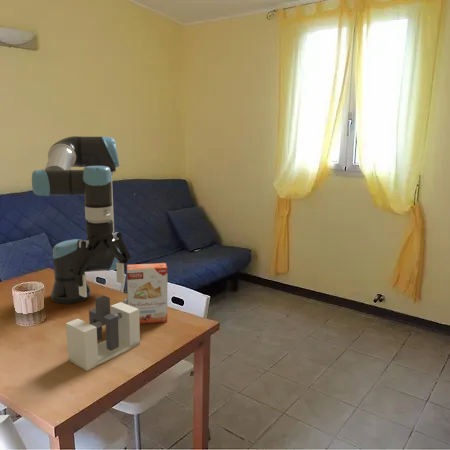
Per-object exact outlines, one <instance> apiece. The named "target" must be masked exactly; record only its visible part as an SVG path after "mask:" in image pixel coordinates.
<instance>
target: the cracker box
mask: <svg viewBox="0 0 450 450" xmlns="http://www.w3.org/2000/svg"><path fill="white" fill-rule="evenodd" d="M126 277H127V279H126V281H127V282H126V283H127V284H126V285H127V286H126V287H127V290H126V291H127V298H128V305H130V306H132V307H135V308H137V309H139V324H140V325H143V324H154V323H167V322H168V266H167V262H166V263H165V262H161V263H139V264H137V263H136V264H126Z"/></svg>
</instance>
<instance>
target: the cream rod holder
mask: <svg viewBox="0 0 450 450" xmlns="http://www.w3.org/2000/svg"><path fill="white" fill-rule="evenodd" d="M110 313H111V314H113V315H116V316H118V334H119V347H118V348H116V349H114V350H112V351H110V350H108V349H107V344H106V339H105V340H102V341H101V342H99V343H98V341H97V328H99V327H101V326H102V327H103V326H106V324H104V323H102V322H100V321H98V322H95V323H93V324H90V322H86V321H85V320H82V319H80V318H75V319H73V320H70V321H68V322H66V323H65V329H66V330H65V331H66V343H67V360H68V361H69V362H71V363H72V364H74V365H76V366H77V367H79V368H81V369H82V370H84V371H87V372H88V371H89V370H92V369H93V368H96V367H98V366H99V365H101V364H104V363H105V362H107V361H109V360H111V359H113V358H115V357H117V356H119V355H121V354H123V353H125V352H127V351H128V350H130V349H132V348H135V347H136V346H139V345H140V344H141V337H140V336H141V334H140V333H141V332H140V331H141V330H140V328H141V327H140V326H141V324H139V309H137V308H135V307H132V306H130V305H127V304H124V303H123V301H120V302H118V303H115V304H112V305H110Z"/></svg>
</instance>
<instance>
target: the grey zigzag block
mask: <svg viewBox="0 0 450 450" xmlns="http://www.w3.org/2000/svg"><path fill="white" fill-rule="evenodd" d="M110 299H111V298H110V297H108V296H107V295H100V296H98V297H97V296H96V297H95V299H94V301H95V303H94V305H95V307H94V308H92V309H90V310H88V314H89V315H88V320H89V322H88V323H89V324H93V323H95V322H98V321H100V322H102V323H104V324H106V325H105V340H106V344H107V349H108V350H110V351H112V350H114V349H116V348H118V347H119V334H118V316H116V315H113V314H111V300H110ZM102 339H103V326H101V327H99V328H97V342H99V341H101V340H102Z"/></svg>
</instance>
